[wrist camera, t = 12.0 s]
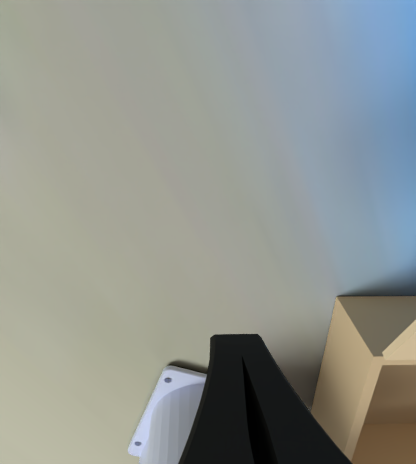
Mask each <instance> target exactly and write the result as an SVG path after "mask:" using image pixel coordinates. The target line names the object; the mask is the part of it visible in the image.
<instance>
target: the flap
mask: <svg viewBox="0 0 416 464" xmlns="http://www.w3.org/2000/svg"><path fill="white" fill-rule="evenodd" d="M382 353H383V356H384V359H385V360H416V320H415V321H414V322H413V323H412V324H411V325H410V326H409V327H408V328H407V329H406V330H405V331H403V332H402V333H401V334H400V335H399V336H398V337H397V338H396V339H395V340H394V341H393V342H392V343H391V344H390V345H389V346H388V347H387V348H386V349H385V350H384V351H383V352H382Z"/></svg>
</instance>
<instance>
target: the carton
mask: <svg viewBox="0 0 416 464" xmlns="http://www.w3.org/2000/svg"><path fill="white" fill-rule="evenodd" d="M415 320H416V296H346V297H336V301H335V306H334V310H333V315H332V319H331V324H330V328H329V333H328V337H327V342H326V346H325V351H324V355H323V360H322V364H321V369H320V373H319V378H318V382H317V387H316V391H315V396H314V400H313V405H312V409H311V414H312V415H313V417H314V418H315V419H316V420H317V422H318V423H319V424H320V425H321V427H322V428H323V429H324V431H325V432H326V433H327V434H328V435H329V437H330V438H331V439H332V440H333V442H334V443H335V444H336V445H337V446H338V447H339V449H340V450H341V451H342V452H343V453H344V454H345V456H346V457H347V458H348V459H349V460H350V461H351V462H352V463H353V464H416V360H385V359H384V356H383V353H382V352H383V351H384V350H385V349H386V348H387V347H388V346H389V345H390V344H391V343H392V342H393V341H394V340H395V339H396V338H397V337H398V336H399V335H400V334H401V333H402V332H403V331H405V330H406V329H407V328H408V327H409V326H410V325H411V324H412V323H413V322H414V321H415Z"/></svg>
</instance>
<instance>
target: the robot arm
mask: <svg viewBox="0 0 416 464" xmlns="http://www.w3.org/2000/svg"><path fill="white" fill-rule="evenodd" d="M167 377H169V378H167ZM128 453H129V454H130V455H134V456H139V457H140V460H139V464H353V463H352V462H351V461H350V460H349V459H348V458H347V457H346V456H345V454H344V453H343V452H342V451H341V450H340V449H339V447H338V446H337V445H336V444H335V443H334V442H333V440H332V439H331V438H330V437H329V435H328V434H327V433H326V432H325V431H324V429H323V428H322V427H321V425H320V424H319V423H318V422H317V420H316V419H315V418H314V417H313V415H312V414H311V413H310V411H309V410H308V409H307V407H306V406H305V405H304V403H303V402H302V401H301V399H300V398H299V396H298V395H297V393H296V392H295V391H294V389H293V388H292V386H291V385H290V383H289V382H288V381H287V379H286V378H285V376H284V375H283V373H282V372H281V370H280V368H279V367H278V365H277V364H276V362H275V360H274V359H273V357H272V356H271V354H270V352H269V350H268V349H267V347H266V345H265V343H264V342H263V340H262V338H261V337H260V336H259V335H258V334H221V335H213V336H212V337H211V338H210V361H209V366H208V372H207V374H204V373H200V372H196V371H192V370H188V369H184V368H180V367H176V366H167V367H165V368H164V370H163V372H162V374H161V376H160V378H159V381H158V383H157V385H156V387H155V389H154V391H153V394H152V396H151V398H150V400H149V402H148V405H147V407H146V409H145V411H144V413H143V416H142V418H141V420H140V422H139V424H138V427H137V429H136V431H135V433H134V435H133V438H132V440H131V442H130V444H129V447H128Z"/></svg>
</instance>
